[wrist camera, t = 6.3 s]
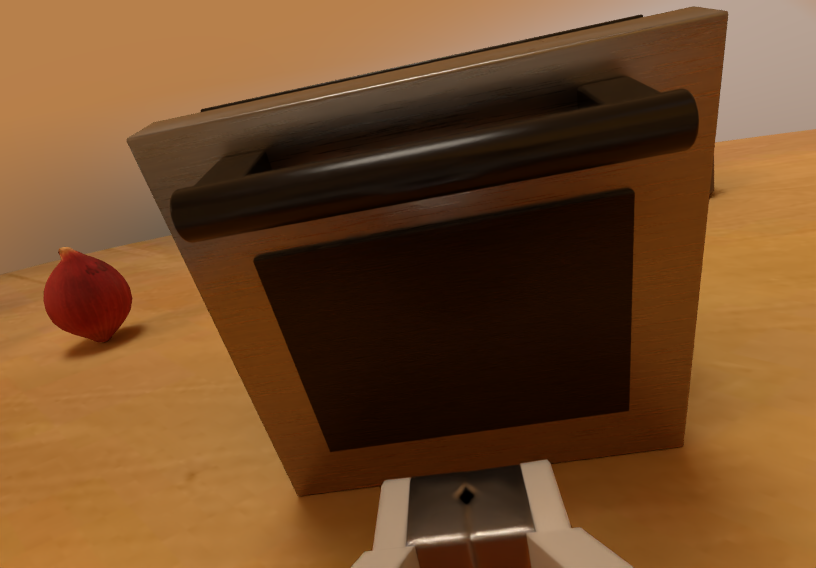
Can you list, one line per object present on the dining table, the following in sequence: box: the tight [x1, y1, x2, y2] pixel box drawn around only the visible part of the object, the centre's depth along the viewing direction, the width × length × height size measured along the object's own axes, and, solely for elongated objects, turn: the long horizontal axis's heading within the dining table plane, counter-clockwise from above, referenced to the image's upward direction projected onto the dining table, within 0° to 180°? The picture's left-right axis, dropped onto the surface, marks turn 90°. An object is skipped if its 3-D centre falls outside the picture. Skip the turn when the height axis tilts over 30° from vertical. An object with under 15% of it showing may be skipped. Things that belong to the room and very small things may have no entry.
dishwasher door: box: [127, 7, 728, 496], centre depth 15 cm, size 4×14×14 cm, turn 87°
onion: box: [44, 247, 132, 343], centre depth 41 cm, size 6×6×8 cm
